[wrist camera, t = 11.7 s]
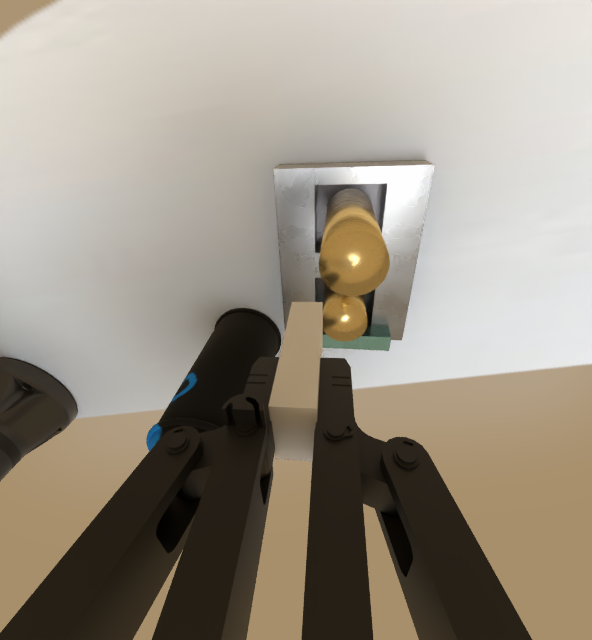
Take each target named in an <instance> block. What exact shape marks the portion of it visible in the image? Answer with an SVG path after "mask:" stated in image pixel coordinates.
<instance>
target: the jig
mask: <svg viewBox="0 0 592 640" xmlns="http://www.w3.org/2000/svg"><path fill="white" fill-rule="evenodd" d="M434 167H435V165H434V164H432V163H430V162H428V161H426V160H415V161H381V162H346V163H311V164H280V165H278V166H277V167H276V168H274V169H273V170H274V184H275V198H276V212H277V226H278V240H279V254H280V267H281V281H282V295H283V309H284V323H285V330H286V326H287V321H288V317H289V312H290V308H291V304H292V302H323V347H322V348H343V349H364V350H385V351H389V347H390V341H391V340H402V337H403V331H404V326H405V321H406V315H407V310H408V305H409V299H410V294H411V289H412V284H413V278H414V273H415V268H416V262H417V257H418V252H419V246H420V241H421V236H422V230H423V225H424V220H425V215H426V209H427V204H428V199H429V193H430V188H431V183H432V177H433V172H434ZM348 188H354V189H358V190H360V191H362V192H364V193H365V194H366V195H367V196H368V198H369V199H370V201H371V204H372V207H373V210H374V213H375V216H376V219H377V221H378V224H379V227H380V230H381V233H382V236H383V239H384V242H385V244H386V247H387V250H388V253H389V258H390V266H389V271H388V273H387V276H386V277H385V279H384V281H383V282H382V283H381V284H380V285H379V286H378V287H377V288H376V289H374V290H373V291H371V292H369V293H367V294H364V295H360V296H345V295H341V294H338V293H336V292H334V291H333V290H331V289H330V288H329V287H328V286H327V285H326V284H325V283H324V281H323V280H322V278H321V275H320V272H319V257H320V251H321V245H322V238H323V232H324V226H325V220H326V214H327V208H328V204H329V202H330V200H331V199H332V197H333V196H334V195H335V194H336V193H338V192H339V191H341V190H344V189H348Z"/></svg>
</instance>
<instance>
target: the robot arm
mask: <svg viewBox="0 0 592 640" xmlns="http://www.w3.org/2000/svg"><path fill="white" fill-rule="evenodd" d="M322 347H323V302H292V304H291V308H290V312H289V317H288V321H287V326H286V330H285V335H284V339H283V343H282V348H281V352H280V357H259V359H258V360H257V361H256V362H255V363H254V364H253V365H252V368H251V371H250V376H249V377H248V380H247V384H246V387H245V390H244V393H243V394H239V395H236V396H234V397H232V398H230V399H229V400H228V401H227V402H225V404H224V405H223V407H222V413H223V416H224V420H225V424H226V425H225V426H223V427H221V428H218V429H215V430H211V431H207V432H203V433H198V431H197V429H195V428H193V427H191V426H180V427H175V428H174V429H172V430H170V431H168V432H167V433H166V434H164V435H163V436H162V437H161V438H160V439H159V441H158V442H157V443H156V444H155V446H154V447H153V448H152V449H151V450H150V452H149V453H148V454H147V455H146V457H145V458H144V459H143V460H142V461H141V463H140V464H139V465H138V466H137V467H136V469H135V470H134V471H133V472H132V474H131V475H130V476H129V477H128V478H127V480H126V481H125V482H124V483H123V485H122V486H121V487H120V488H119V489H118V491H117V492H116V493H115V494H114V495H113V497H112V498H111V499H110V500H109V501H108V503H107V504H106V505H105V506H104V508H103V509H102V510H101V511H100V513H99V514H98V515H97V516H96V517H95V519H94V520H93V521H92V522H91V523H90V525H89V526H88V527H87V528H86V530H85V531H84V532H83V533H82V534H81V536H80V537H79V538H78V539H77V541H76V542H75V543H74V544H73V545H72V547H71V548H70V549H69V550H68V551H67V553H66V554H65V555H64V556H63V557H62V559H61V560H60V561H59V562H58V564H57V565H56V566H55V567H54V568H53V570H52V571H51V572H50V573H49V574H48V576H47V577H46V578H45V579H44V581H43V582H42V583H41V584H40V585H39V587H38V588H37V589H36V590H35V592H34V593H33V594H32V595H31V596H30V598H29V599H28V600H27V601H26V602H25V604H24V605H23V606H22V607H21V608H20V610H19V611H18V612H17V613H16V615H15V616H14V617H13V618H12V619H11V621H10V622H9V623H8V624H7V626H6V627H5V628H4V629H3V630H2V632H1V633H0V640H133V638H134V636H135V634H136V632H137V631H138V629H139V627H140V625H141V624H142V622H143V620H144V618H145V616H146V615H147V612H148V611H149V609H150V607H151V606H152V604H153V602H154V600H155V598H156V597H157V595H158V593H159V591H160V590H161V588H162V586H163V584H164V582H165V581H166V579H167V577H168V575H169V573H170V571H171V570H172V568H173V566H174V564H175V563H176V561H177V559H178V557H179V555H180V554H181V552H182V550H183V552H182V554H181V557H180V560H179V563H178V566H177V568H176V571H175V575H174V577H173V580H172V583H171V586H170V589H169V591H168V594H167V597H166V600H165V603H164V606H163V609H162V612H161V615H160V617H159V620H158V623H157V626H156V629H155V632H154V635H153V638H152V640H246V637H247V631H248V625H249V619H250V613H251V607H252V601H253V595H254V589H255V583H256V577H257V570H258V565H259V558H260V552H261V546H262V540H263V534H264V528H265V522H266V516H267V510H268V503H269V498H270V492H271V486H272V480H273V466H272V464H273V458H274V452H275V458H276V459H284V460H300V461H313V462H312V479H311V495H310V513H309V529H308V545H307V560H306V576H305V592H304V609H303V610H304V611H303V626H302V640H373V630H372V617H371V605H370V592H369V578H368V566H367V552H366V539H365V526H364V514H363V504H366V505H368V506H370V507H373V508H375V510H376V513H377V516H378V519H379V522H380V525H381V528H382V531H383V534H384V537H385V540H386V543H387V546H388V549H389V552H390V555H391V558H392V561H393V563H394V567H395V570H396V573H397V576H398V579H399V582H400V584H401V587H402V590H403V593H404V596H405V599H406V602H407V605H408V608H409V611H410V614H411V617H412V620H413V623H414V626H415V629H416V632H417V635H418V638H419V640H532V639H531V637H530V635H529V633H528V631H527V630H526V628H525V626H524V625H523V623H522V621H521V619H520V617H519V615H518V614H517V612H516V610H515V608H514V606H513V605H512V603H511V601H510V599H509V598H508V596H507V594H506V592H505V590H504V588H503V587H502V585H501V583H500V581H499V579H498V578H497V576H496V574H495V572H494V571H493V569H492V567H491V565H490V563H489V562H488V560H487V558H486V556H485V554H484V553H483V551H482V549H481V547H480V545H479V544H478V542H477V540H476V538H475V537H474V535H473V533H472V531H471V529H470V528H469V526H468V524H467V522H466V520H465V519H464V517H463V515H462V513H461V511H460V510H459V508H458V506H457V504H456V502H455V501H454V499H453V497H452V495H451V493H450V492H449V490H448V488H447V486H446V484H445V483H444V481H443V479H442V478H441V476H440V474H439V472H438V470H437V468H436V467H435V465H434V463H433V461H432V459H431V458H430V456H429V454H428V453H427V451H426V450H425V449H424V448H423V446H422V445H420V444H419V443H417V442H416V441H414V440H412V439H409V438H406V437H395V438H392V439H389V440H388V441H387V442H384V441H381V440H378V439H375V438H373V437H371V436H368V435H367V434H365V433H364V432H363V431H362V430H361V429H360V428H359V427H358V426H357V424H356V422H355V418H354V407H353V394H352V380H351V367H350V366H349V364H348V363H347V361H346V360H345V358H322ZM76 415H77V407H76V404H75V401H74V399H73V398H72V396H71V395H70V393H69V392H68V391H67V390H66V389H65V388H64V387H63V386H62V385H61V384H60V383H59V382H58V381H57V380H55V379H54V378H53V377H51V376H50V375H48V374H47V373H45V372H44V371H42V370H40V369H38V368H36V367H34V366H32V365H30V364H27V363H24V362H21V361H18V360H14V359H8V358H0V481H1V480H2V479H3V478H4V477H5V476H6V475H7V474H8V472H9V471H10V470H11V469H12V468H13V467H14V466H15V465H16V464H17V463H18V462H19V461H20V460H21V458H23V457H24V456H25V455H26V454H28V453H29V452H31V451H32V450H34V449H36V448H37V447H39V446H40V445H42V444H43V443H45V442H46V441H48V440H49V439H51V438H52V437H54V436H55V435H57V434H59V433H60V432H62V431H63V430H64V429H65V428H66V427H67V426H68V425H69V424H70V423H71V422H72V421H73V420H74V418H75V417H76Z"/></svg>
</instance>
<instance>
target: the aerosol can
mask: <svg viewBox="0 0 592 640" xmlns="http://www.w3.org/2000/svg"><path fill="white" fill-rule="evenodd" d="M280 346H281V336H280V333H279V330H278V328H277V327H276V325H275V324H274V322H273V321H272V320H271V319H270V318H268V317H267V316H265V315H264V314H262V313H260V312H258V311H254V310H251V309H234V310H230V311H228V312H226V313H225V314H223V315H222V316H221V317H220V318H219V319H218V321H217V323H216V325H215V330H214V332H213V333H212V335H211V337H210V338H209V340H208V341H207V343H206V345H205V346H204V348H203V350H202V351H201V353H200V355H199V356H198V358H197V360H196V361H195V363H194V365H193V366H192V368H191V370H190V371H189V373H188V374H187V376H186V378H185V379H184V381H183V383H182V384H181V386H180V388H179V389H178V391H177V393H176V394H175V396H174V398H173V399H172V401H171V403H170V404H169V406H168V407H167V409H166V411H165V412H164V414H163V416H162V418H161V419H160V421H159V422H158V423H157V424H155V425H154V426H153V427H152V428H151V430H149V432H148V435H147V446H148V449H149V452H150V450H151V449H152V448H153V447H154V446H155V444H156V443H157V442H158V441H159V439H160V438H161V437H162V436H163V435H164V434H166V433H167V432H168V431H170V430H172V429H174V428H175V427H180V426H191V427H193V428H195V429H197V431H198V433H203V432H207V431H211V430H215V429H218V428H221V427H223V426H225V425H226V424H225V420H224V416H223V413H222V407H223V405H224V404H225V402H227V401H228V400H229V399H230V398H232V397H234V396H236V395H239V394H243V393H244V390H245V387H246V384H247V380H248V377H249V376H250V371H251V368H252V365H253V364H254V363H255V362H256V361H257V360H258V359H259V357H275V356H276V354H277V353H278V351H279V349H280Z"/></svg>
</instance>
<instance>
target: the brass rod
mask: <svg viewBox="0 0 592 640" xmlns="http://www.w3.org/2000/svg"><path fill="white" fill-rule="evenodd" d="M389 266H390V258H389V253H388V250H387V247H386V244H385V242H384V239H383V236H382V233H381V230H380V227H379V224H378V221H377V219H376V216H375V213H374V210H373V207H372V204H371V201H370V199H369V198H368V196H367V195H366V194H365V193H364V192H362V191H360V190H358V189H354V188H348V189H344V190H341V191H339V192H338V193H336V194H335V195H334V196H333V197H332V199H331V200H330V202H329V204H328V208H327V214H326V220H325V226H324V232H323V238H322V245H321V251H320V257H319V272H320V275H321V278H322V280H323V281H324V283H325V284H326V285H327V286H328V287H329V288H330V289H331V290H333V291H334V292H336V293H338V294H341V295H345V296H360V295H364V294H367V293H369V292H371V291H373V290H374V289H376V288H377V287H378V286H379V285H380V284H381V283H382V282H383V281H384V279H385V277H386V276H387V273H388V271H389Z"/></svg>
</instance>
